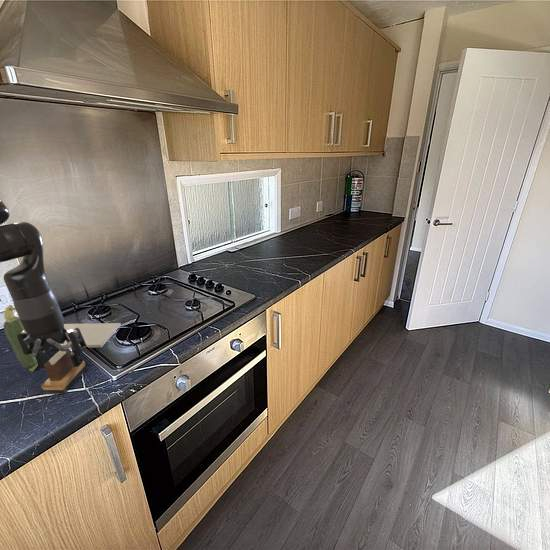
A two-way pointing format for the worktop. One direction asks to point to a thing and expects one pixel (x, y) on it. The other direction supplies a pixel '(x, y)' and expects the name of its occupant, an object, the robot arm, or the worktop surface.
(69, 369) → the brush
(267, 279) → the worktop surface
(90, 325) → the tile
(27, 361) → the vegetable
